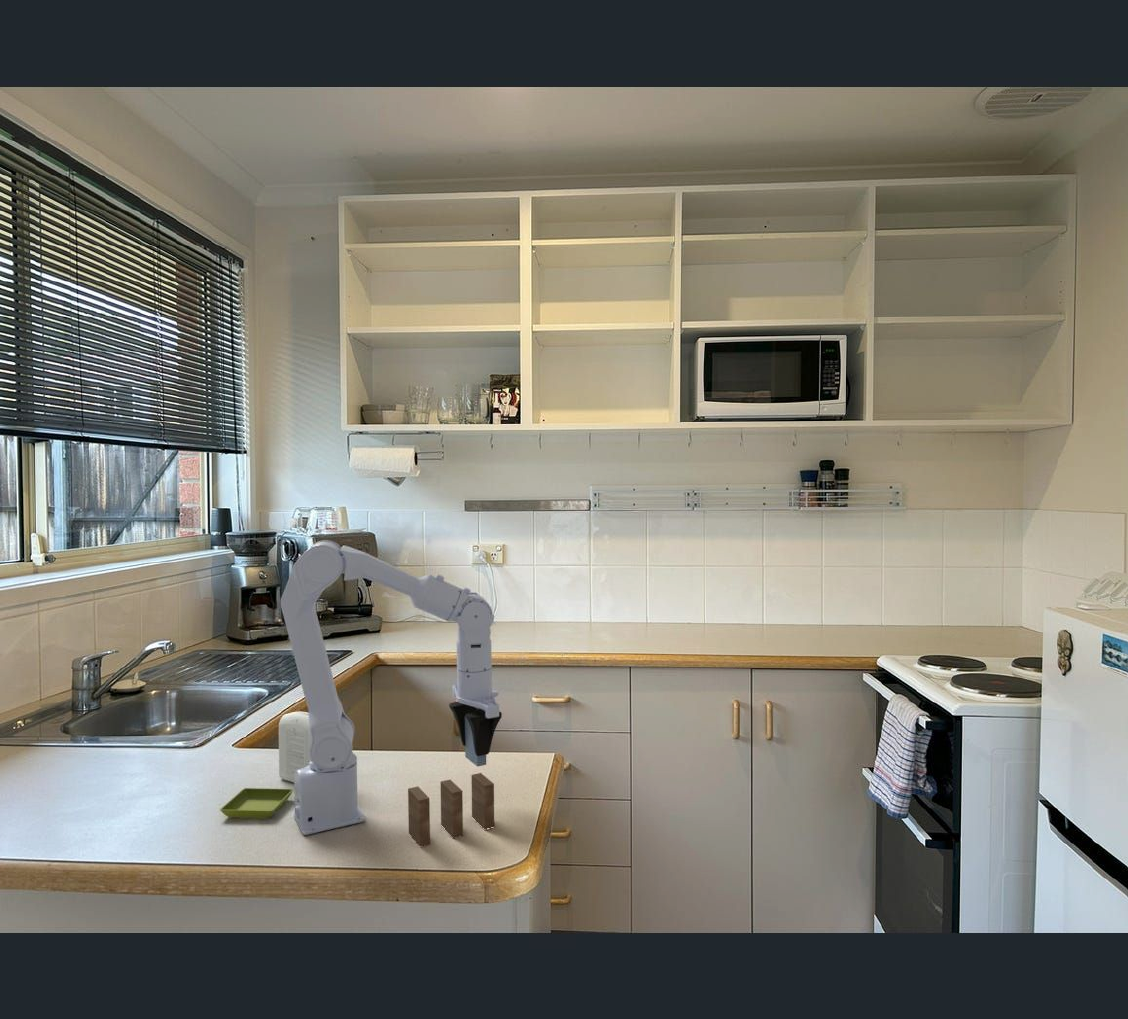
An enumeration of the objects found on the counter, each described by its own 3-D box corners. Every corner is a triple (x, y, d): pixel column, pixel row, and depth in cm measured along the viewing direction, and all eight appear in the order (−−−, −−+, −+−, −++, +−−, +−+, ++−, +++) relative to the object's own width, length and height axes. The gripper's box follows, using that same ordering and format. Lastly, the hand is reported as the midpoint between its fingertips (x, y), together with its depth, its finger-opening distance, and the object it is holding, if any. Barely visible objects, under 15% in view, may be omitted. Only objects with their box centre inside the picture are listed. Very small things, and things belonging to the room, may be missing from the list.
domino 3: (484, 830, 117) (484, 785, 116) (471, 818, 121) (471, 774, 121) (494, 828, 117) (493, 783, 117) (481, 815, 122) (480, 772, 121)
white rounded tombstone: (334, 782, 135) (333, 713, 135) (316, 791, 132) (314, 720, 131) (294, 771, 140) (293, 705, 140) (275, 779, 137) (274, 711, 136)
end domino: (477, 766, 123) (476, 724, 123) (465, 756, 128) (464, 715, 127) (486, 764, 124) (485, 722, 124) (474, 755, 128) (473, 714, 128)
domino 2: (452, 838, 114) (452, 793, 114) (441, 825, 118) (440, 781, 118) (462, 836, 115) (462, 790, 114) (450, 823, 119) (450, 779, 119)
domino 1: (419, 847, 111) (418, 800, 111) (408, 833, 116) (408, 788, 115) (430, 844, 112) (429, 798, 112) (418, 831, 116) (418, 786, 116)
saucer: (294, 800, 129) (294, 788, 129) (272, 823, 120) (272, 810, 120) (244, 799, 129) (244, 787, 129) (219, 822, 120) (218, 809, 120)
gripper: (515, 674, 121) (516, 758, 121) (478, 656, 133) (479, 732, 134) (475, 680, 117) (476, 767, 118) (440, 661, 130) (442, 739, 130)
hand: (475, 749), depth 126 cm, fingers closed on end domino, 5 cm apart
